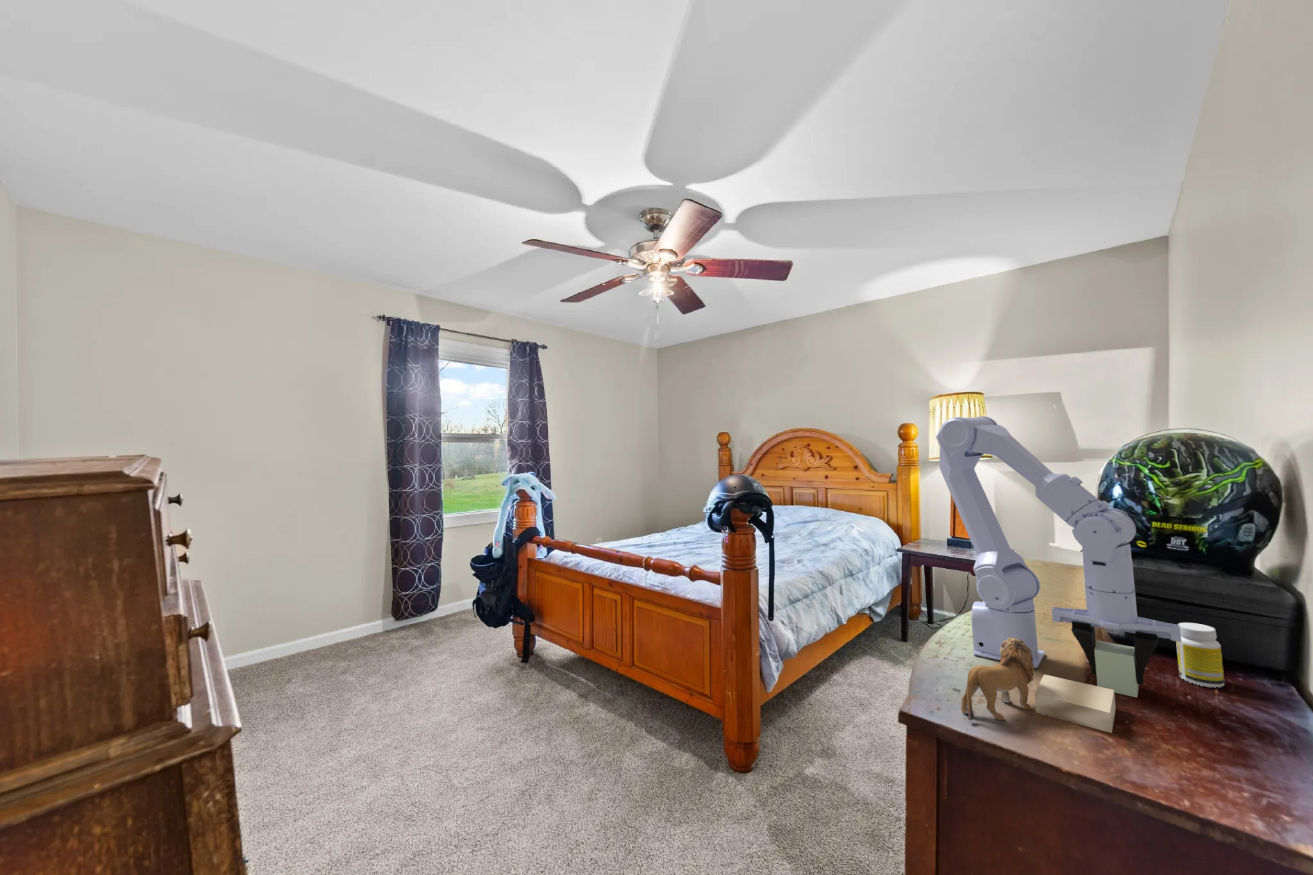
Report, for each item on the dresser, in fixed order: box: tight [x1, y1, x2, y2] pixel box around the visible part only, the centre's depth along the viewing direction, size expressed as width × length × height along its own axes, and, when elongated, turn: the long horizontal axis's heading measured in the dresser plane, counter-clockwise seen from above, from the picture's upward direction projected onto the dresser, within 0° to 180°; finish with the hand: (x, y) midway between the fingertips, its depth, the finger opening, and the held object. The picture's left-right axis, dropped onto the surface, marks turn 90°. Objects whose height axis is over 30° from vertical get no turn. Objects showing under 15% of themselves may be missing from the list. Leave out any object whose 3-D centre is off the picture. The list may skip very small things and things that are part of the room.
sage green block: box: [1094, 640, 1139, 698], centre depth 76 cm, size 4×4×6 cm
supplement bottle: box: [1175, 622, 1225, 689], centre depth 77 cm, size 5×5×8 cm
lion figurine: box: [961, 638, 1035, 721], centre depth 72 cm, size 15×5×9 cm, turn 118°
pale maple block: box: [1034, 674, 1117, 734], centre depth 70 cm, size 8×8×3 cm
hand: (1117, 676), depth 76 cm, fingers closed on sage green block, 4 cm apart
